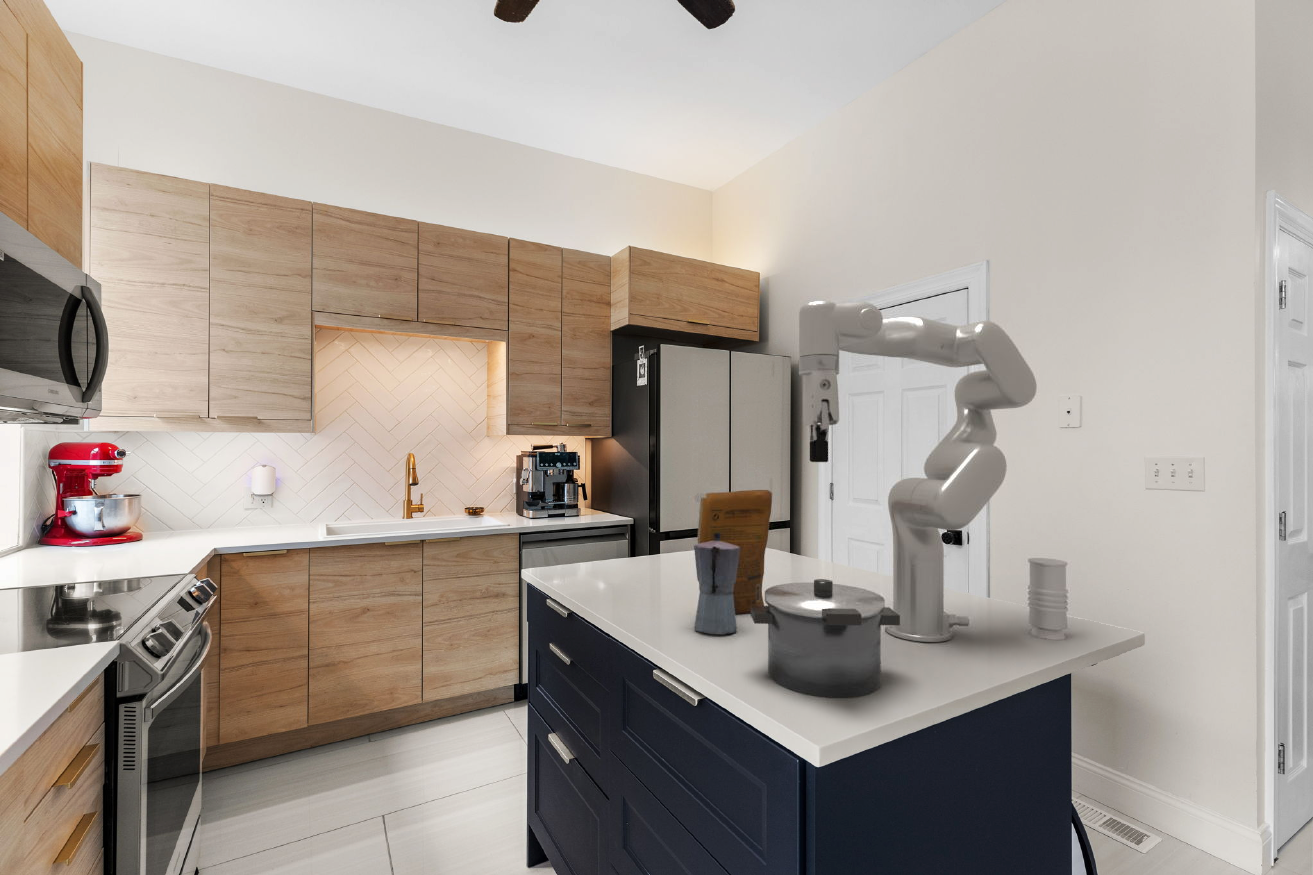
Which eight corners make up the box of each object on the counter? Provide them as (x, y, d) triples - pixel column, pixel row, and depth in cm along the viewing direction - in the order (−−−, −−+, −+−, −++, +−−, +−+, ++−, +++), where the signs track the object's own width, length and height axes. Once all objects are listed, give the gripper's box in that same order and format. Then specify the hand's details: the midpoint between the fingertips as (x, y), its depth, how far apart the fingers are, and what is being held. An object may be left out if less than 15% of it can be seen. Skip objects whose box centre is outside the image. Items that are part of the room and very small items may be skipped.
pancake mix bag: (778, 613, 140) (779, 490, 141) (700, 619, 135) (701, 491, 135) (765, 605, 147) (765, 488, 147) (690, 611, 141) (690, 489, 141)
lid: (757, 588, 112) (757, 568, 112) (863, 589, 112) (863, 569, 112) (777, 624, 90) (778, 599, 90) (910, 625, 90) (910, 601, 90)
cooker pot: (873, 654, 113) (873, 588, 113) (915, 699, 93) (915, 619, 93) (744, 652, 113) (745, 587, 114) (759, 696, 94) (760, 617, 94)
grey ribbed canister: (1068, 634, 126) (1068, 560, 126) (1067, 642, 120) (1066, 565, 120) (1029, 628, 130) (1029, 556, 130) (1026, 636, 124) (1026, 561, 124)
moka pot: (738, 620, 134) (739, 528, 134) (741, 643, 119) (741, 539, 119) (694, 619, 135) (695, 528, 135) (691, 641, 120) (692, 538, 120)
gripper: (849, 361, 111) (849, 463, 111) (828, 371, 126) (828, 461, 126) (807, 361, 112) (807, 463, 111) (792, 371, 126) (791, 460, 126)
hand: (818, 461), depth 119 cm, fingers closed
